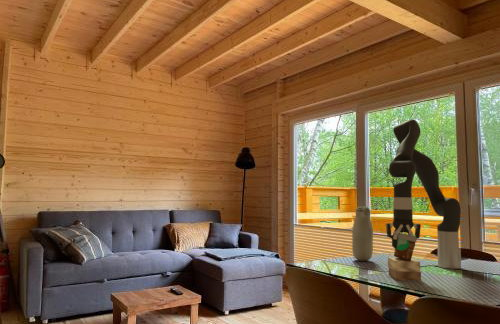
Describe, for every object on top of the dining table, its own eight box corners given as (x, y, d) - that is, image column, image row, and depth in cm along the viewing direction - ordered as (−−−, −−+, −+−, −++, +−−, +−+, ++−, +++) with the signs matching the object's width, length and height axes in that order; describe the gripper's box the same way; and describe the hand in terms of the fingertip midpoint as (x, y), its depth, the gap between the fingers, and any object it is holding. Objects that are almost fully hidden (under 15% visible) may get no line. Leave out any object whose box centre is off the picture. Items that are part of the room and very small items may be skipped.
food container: (386, 253, 173) (391, 231, 174) (400, 257, 173) (405, 234, 174) (397, 257, 161) (402, 233, 161) (412, 261, 160) (417, 237, 161)
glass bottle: (349, 260, 206) (349, 206, 208) (358, 258, 213) (358, 205, 216) (367, 263, 199) (367, 206, 201) (376, 260, 207) (375, 206, 209)
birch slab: (411, 267, 171) (411, 257, 171) (420, 271, 161) (420, 261, 161) (388, 266, 171) (387, 257, 172) (394, 271, 161) (394, 261, 162)
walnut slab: (412, 276, 171) (412, 267, 171) (421, 281, 161) (420, 271, 161) (388, 276, 171) (388, 266, 172) (395, 281, 161) (395, 271, 162)
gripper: (417, 208, 172) (417, 247, 170) (383, 207, 172) (383, 246, 171) (423, 208, 164) (424, 250, 163) (387, 208, 165) (388, 249, 164)
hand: (403, 248), depth 167 cm, fingers open, 6 cm apart
